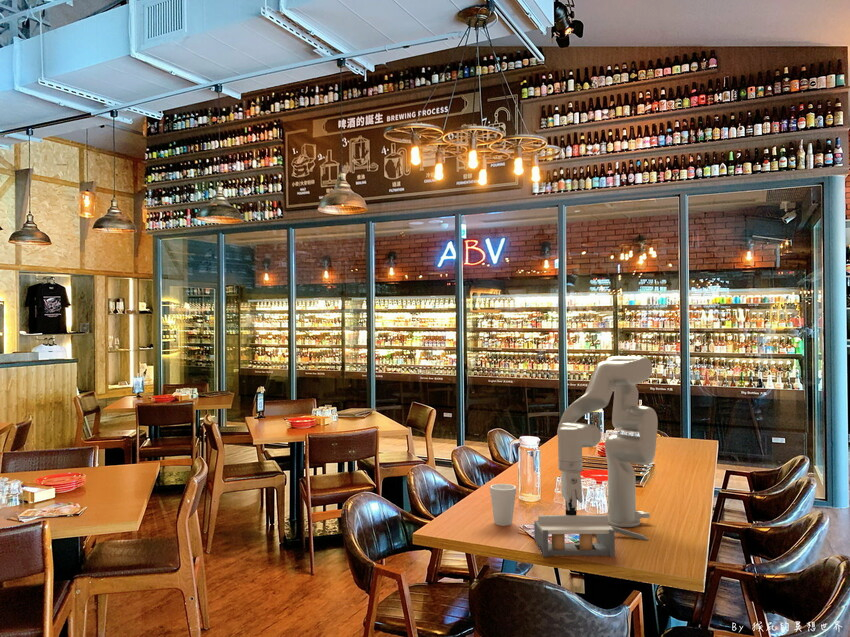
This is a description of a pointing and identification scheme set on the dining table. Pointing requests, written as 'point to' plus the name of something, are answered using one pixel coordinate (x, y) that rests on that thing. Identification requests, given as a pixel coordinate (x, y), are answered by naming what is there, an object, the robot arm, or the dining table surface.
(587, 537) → the peg
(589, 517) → the lid
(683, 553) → the dining table surface
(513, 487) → the foam cup
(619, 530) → the caliper
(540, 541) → the housing
